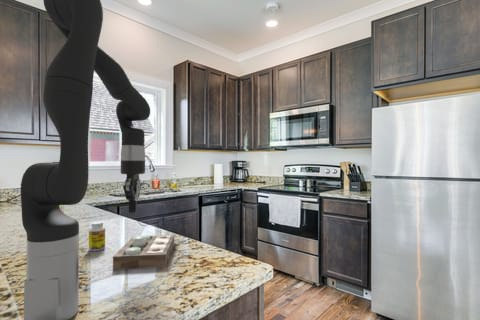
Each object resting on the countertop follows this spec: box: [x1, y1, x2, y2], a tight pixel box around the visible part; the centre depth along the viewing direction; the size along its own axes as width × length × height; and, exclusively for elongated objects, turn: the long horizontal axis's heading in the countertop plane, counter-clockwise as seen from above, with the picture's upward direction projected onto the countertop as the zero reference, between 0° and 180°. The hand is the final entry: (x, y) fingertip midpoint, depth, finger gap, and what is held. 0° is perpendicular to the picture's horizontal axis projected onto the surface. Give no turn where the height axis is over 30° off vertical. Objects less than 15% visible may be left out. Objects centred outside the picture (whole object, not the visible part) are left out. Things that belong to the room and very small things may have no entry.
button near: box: [126, 247, 141, 255], centre depth 86 cm, size 5×5×4 cm
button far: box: [141, 234, 151, 241], centre depth 101 cm, size 5×5×4 cm
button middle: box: [131, 235, 146, 247], centre depth 94 cm, size 5×5×4 cm
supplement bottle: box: [88, 221, 106, 252], centre depth 101 cm, size 6×6×10 cm
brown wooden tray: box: [112, 234, 175, 271], centre depth 94 cm, size 23×16×4 cm
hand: (132, 212), depth 86 cm, fingers closed
